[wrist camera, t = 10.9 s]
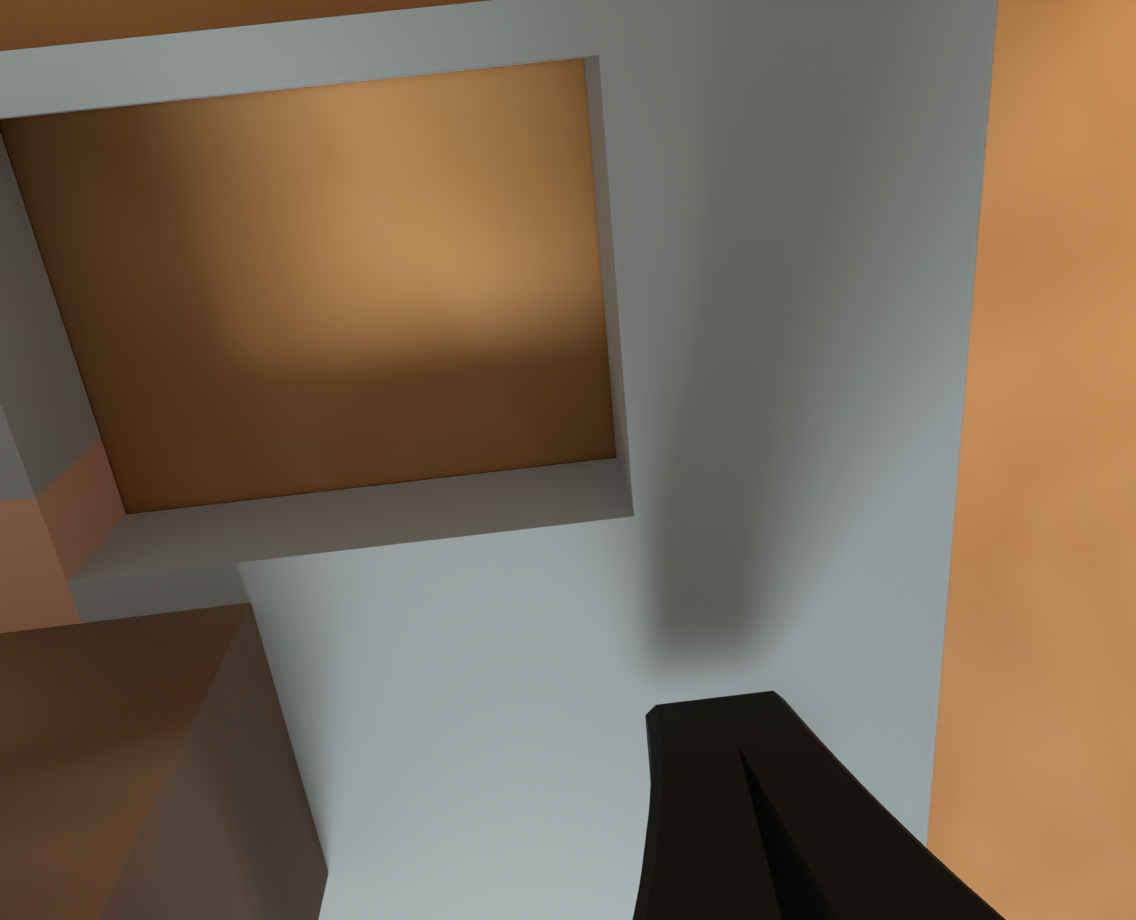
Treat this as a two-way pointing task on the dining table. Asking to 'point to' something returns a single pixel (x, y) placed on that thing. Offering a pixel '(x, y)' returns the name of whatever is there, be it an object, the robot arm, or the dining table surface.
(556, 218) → the dining table surface
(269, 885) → the block
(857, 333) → the deck
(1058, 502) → the dining table surface
